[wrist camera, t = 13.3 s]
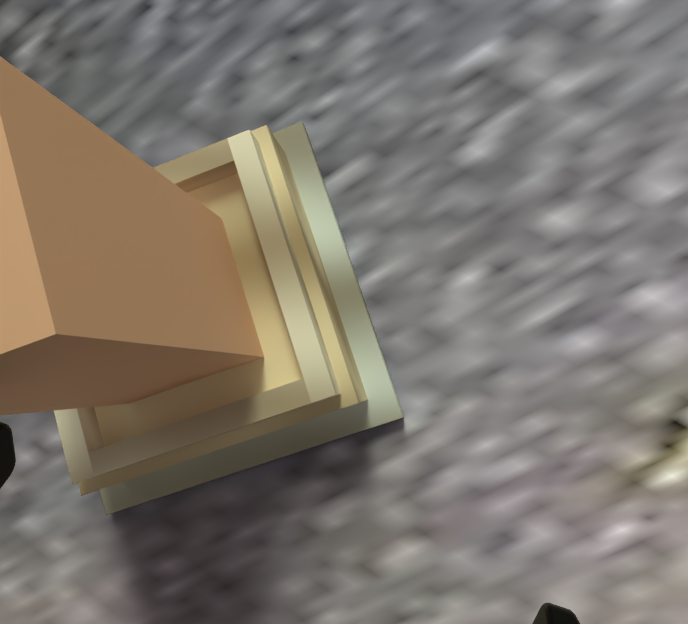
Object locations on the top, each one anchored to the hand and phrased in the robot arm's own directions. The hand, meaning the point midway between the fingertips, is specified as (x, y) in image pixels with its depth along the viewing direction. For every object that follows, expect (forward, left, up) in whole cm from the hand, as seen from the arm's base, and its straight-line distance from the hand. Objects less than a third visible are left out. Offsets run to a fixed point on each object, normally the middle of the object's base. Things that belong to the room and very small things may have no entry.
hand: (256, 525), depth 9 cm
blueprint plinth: (+2, +7, -13) cm, 15 cm away
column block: (+2, +7, -10) cm, 12 cm away
